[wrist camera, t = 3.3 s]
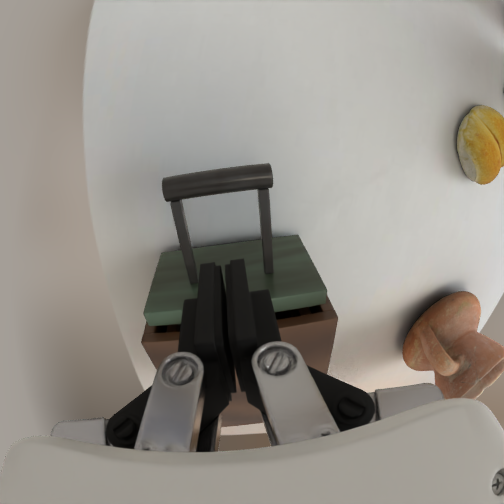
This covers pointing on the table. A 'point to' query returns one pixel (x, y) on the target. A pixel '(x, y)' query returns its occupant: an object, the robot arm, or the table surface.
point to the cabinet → (291, 331)
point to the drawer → (232, 252)
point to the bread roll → (481, 144)
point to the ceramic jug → (454, 347)
